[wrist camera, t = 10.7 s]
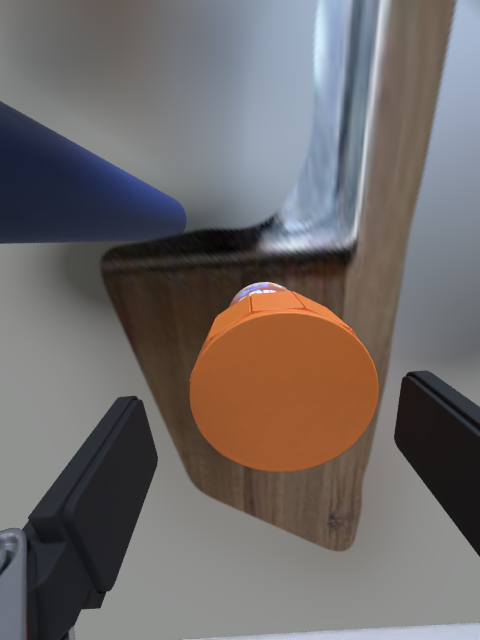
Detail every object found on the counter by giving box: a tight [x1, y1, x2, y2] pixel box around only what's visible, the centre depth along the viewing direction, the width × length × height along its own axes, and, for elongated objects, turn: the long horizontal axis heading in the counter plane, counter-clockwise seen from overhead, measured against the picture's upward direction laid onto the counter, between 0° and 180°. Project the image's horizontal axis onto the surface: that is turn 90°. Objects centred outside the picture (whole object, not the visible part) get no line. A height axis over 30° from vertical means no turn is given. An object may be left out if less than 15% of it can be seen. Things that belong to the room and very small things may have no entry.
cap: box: [189, 291, 379, 472], centre depth 12 cm, size 8×8×4 cm
